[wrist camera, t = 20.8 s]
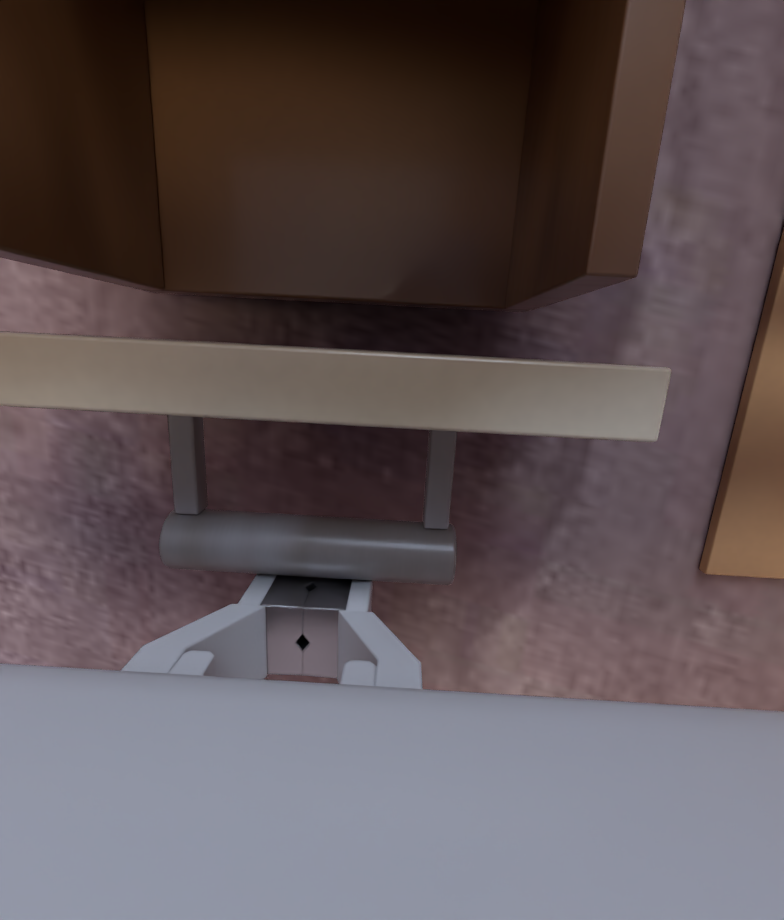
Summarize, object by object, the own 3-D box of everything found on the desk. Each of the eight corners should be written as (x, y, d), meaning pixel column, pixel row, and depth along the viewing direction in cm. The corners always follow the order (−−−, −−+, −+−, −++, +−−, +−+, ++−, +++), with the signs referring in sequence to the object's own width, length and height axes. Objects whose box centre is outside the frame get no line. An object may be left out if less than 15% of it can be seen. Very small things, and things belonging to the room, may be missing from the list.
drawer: (518, 527, 15) (611, 671, 8) (154, 506, 15) (-45, 630, 8) (635, -353, 10) (1140, -1889, 3) (78, -371, 10) (-603, -1882, 3)
